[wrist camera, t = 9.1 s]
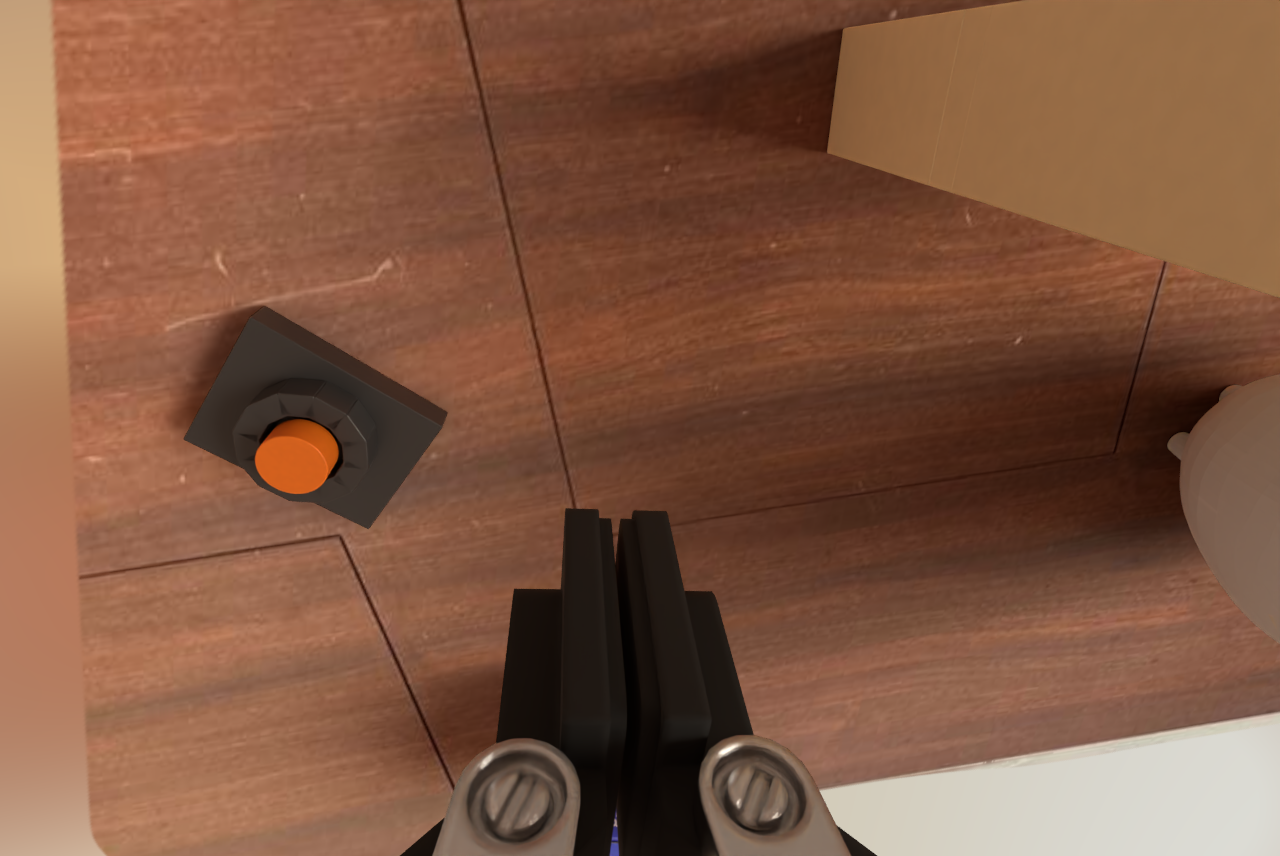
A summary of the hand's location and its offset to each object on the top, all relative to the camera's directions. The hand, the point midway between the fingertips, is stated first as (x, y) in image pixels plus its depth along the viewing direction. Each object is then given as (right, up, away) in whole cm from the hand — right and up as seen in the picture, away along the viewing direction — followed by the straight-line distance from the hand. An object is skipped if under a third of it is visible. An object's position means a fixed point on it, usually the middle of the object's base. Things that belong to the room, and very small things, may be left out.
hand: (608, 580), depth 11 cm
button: (-16, +2, +21) cm, 26 cm away
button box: (-16, +3, +24) cm, 29 cm away
